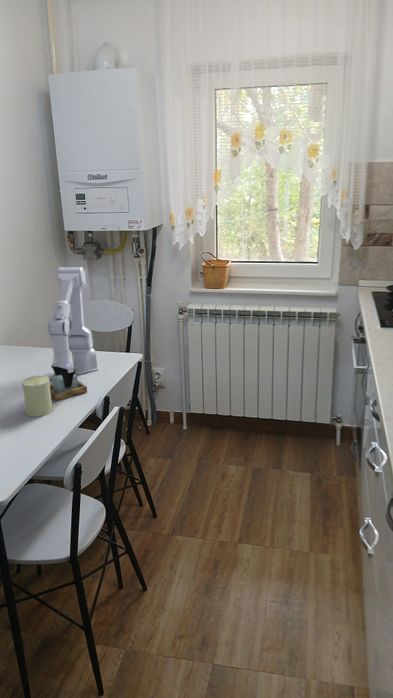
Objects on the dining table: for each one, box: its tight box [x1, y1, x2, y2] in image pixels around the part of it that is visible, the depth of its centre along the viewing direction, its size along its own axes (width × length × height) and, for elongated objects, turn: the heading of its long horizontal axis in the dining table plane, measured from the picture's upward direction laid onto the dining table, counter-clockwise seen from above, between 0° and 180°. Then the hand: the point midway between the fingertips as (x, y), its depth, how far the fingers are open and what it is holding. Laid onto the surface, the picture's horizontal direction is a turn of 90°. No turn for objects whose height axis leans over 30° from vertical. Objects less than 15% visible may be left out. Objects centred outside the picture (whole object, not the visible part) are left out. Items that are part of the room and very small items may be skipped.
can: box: [21, 375, 54, 417], centre depth 191 cm, size 9×9×12 cm
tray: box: [50, 380, 88, 402], centre depth 207 cm, size 13×11×2 cm
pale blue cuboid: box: [51, 373, 79, 394], centre depth 206 cm, size 8×5×6 cm, turn 127°
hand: (65, 384), depth 206 cm, fingers open, 6 cm apart
